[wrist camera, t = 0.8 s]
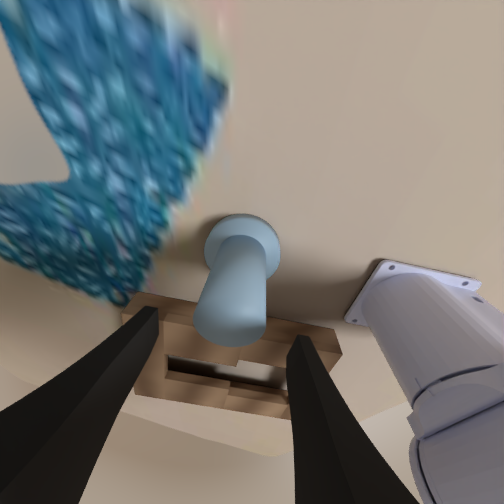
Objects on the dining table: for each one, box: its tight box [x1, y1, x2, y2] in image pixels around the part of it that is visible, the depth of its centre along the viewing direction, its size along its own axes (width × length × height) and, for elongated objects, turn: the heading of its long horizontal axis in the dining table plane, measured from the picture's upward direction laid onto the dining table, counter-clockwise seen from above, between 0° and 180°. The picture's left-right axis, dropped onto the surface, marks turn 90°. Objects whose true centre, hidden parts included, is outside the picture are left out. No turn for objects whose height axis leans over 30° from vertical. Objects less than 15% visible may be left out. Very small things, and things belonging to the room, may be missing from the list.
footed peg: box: [193, 214, 280, 347], centre depth 15 cm, size 6×6×8 cm
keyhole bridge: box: [121, 292, 343, 420], centre depth 25 cm, size 22×16×3 cm
